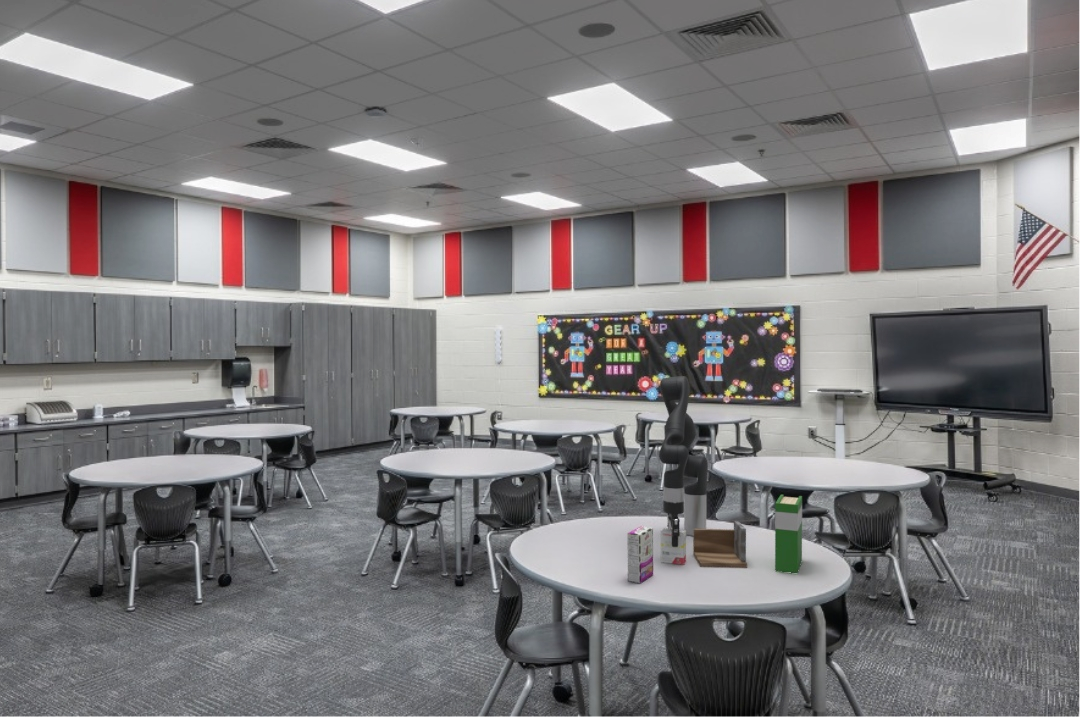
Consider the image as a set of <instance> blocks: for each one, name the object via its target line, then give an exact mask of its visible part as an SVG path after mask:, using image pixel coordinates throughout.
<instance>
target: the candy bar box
mask: <svg viewBox="0 0 1080 717" xmlns="http://www.w3.org/2000/svg"><path fill="white" fill-rule="evenodd" d="M626 535H627V581H628V582H630V581H633V582H632V583H635V582H637V583H636V584H642V583H643V582H646V580H648V579H649V578H650V577H652V576H654V528H653V527H649V526H644V525H643V526H642V525H640V526H638V527H636V528H635V529H632V530H631V531H629V532H627V534H626ZM647 578H648V579H647ZM641 582H642V583H641Z"/></svg>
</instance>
